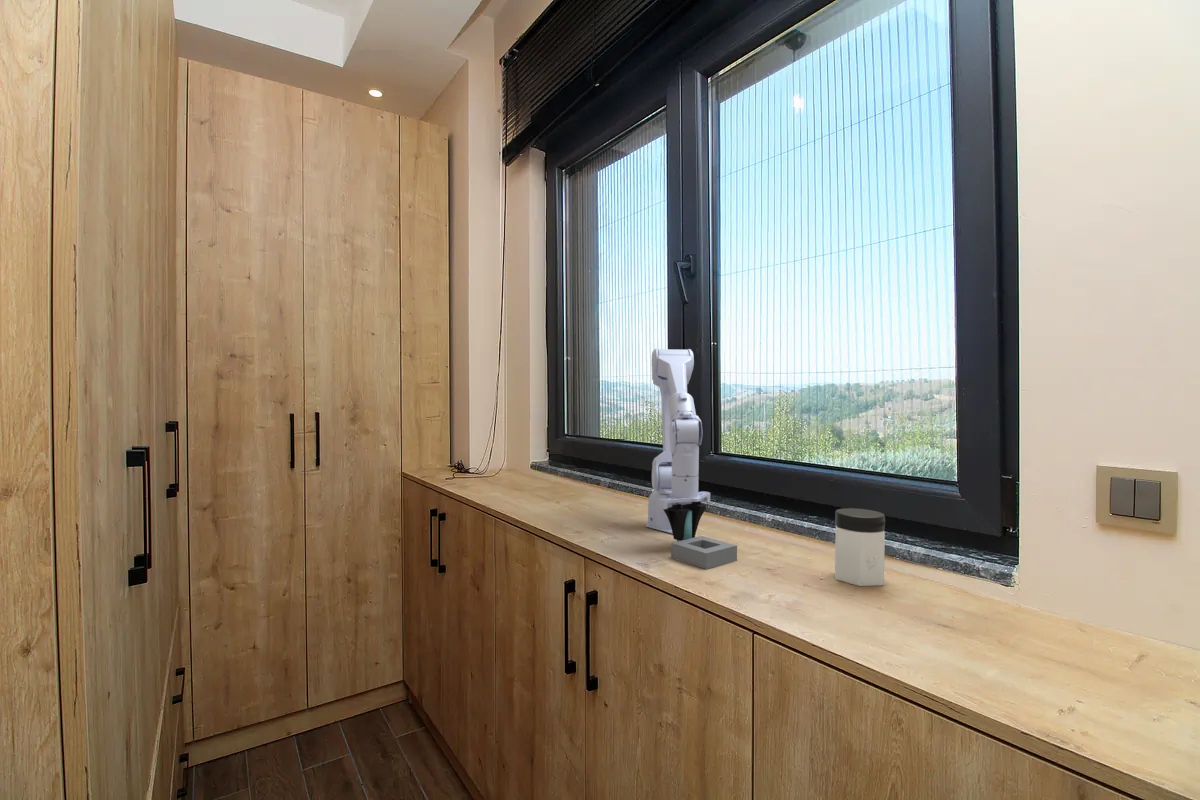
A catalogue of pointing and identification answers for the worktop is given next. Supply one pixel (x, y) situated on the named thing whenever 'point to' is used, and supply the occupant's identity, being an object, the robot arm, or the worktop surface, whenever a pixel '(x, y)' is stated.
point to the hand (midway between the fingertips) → (684, 538)
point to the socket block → (704, 552)
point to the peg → (688, 526)
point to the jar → (859, 547)
